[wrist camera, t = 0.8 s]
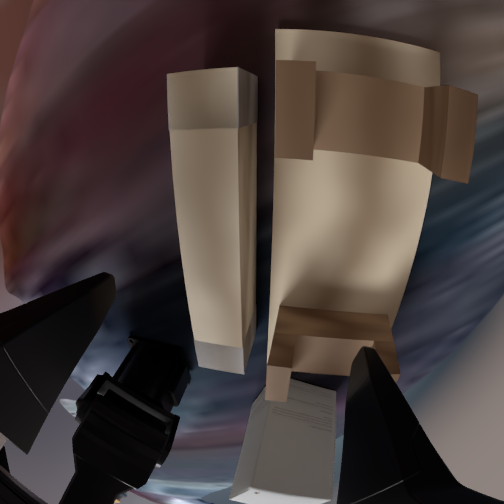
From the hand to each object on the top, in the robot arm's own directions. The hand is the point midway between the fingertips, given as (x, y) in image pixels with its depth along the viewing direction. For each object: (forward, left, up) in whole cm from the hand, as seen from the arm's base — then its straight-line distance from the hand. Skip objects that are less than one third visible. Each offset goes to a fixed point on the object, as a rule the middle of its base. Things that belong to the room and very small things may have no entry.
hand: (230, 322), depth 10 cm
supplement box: (+3, -22, -12) cm, 25 cm away
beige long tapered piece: (+5, -2, -12) cm, 13 cm away
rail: (-3, -2, -12) cm, 12 cm away
